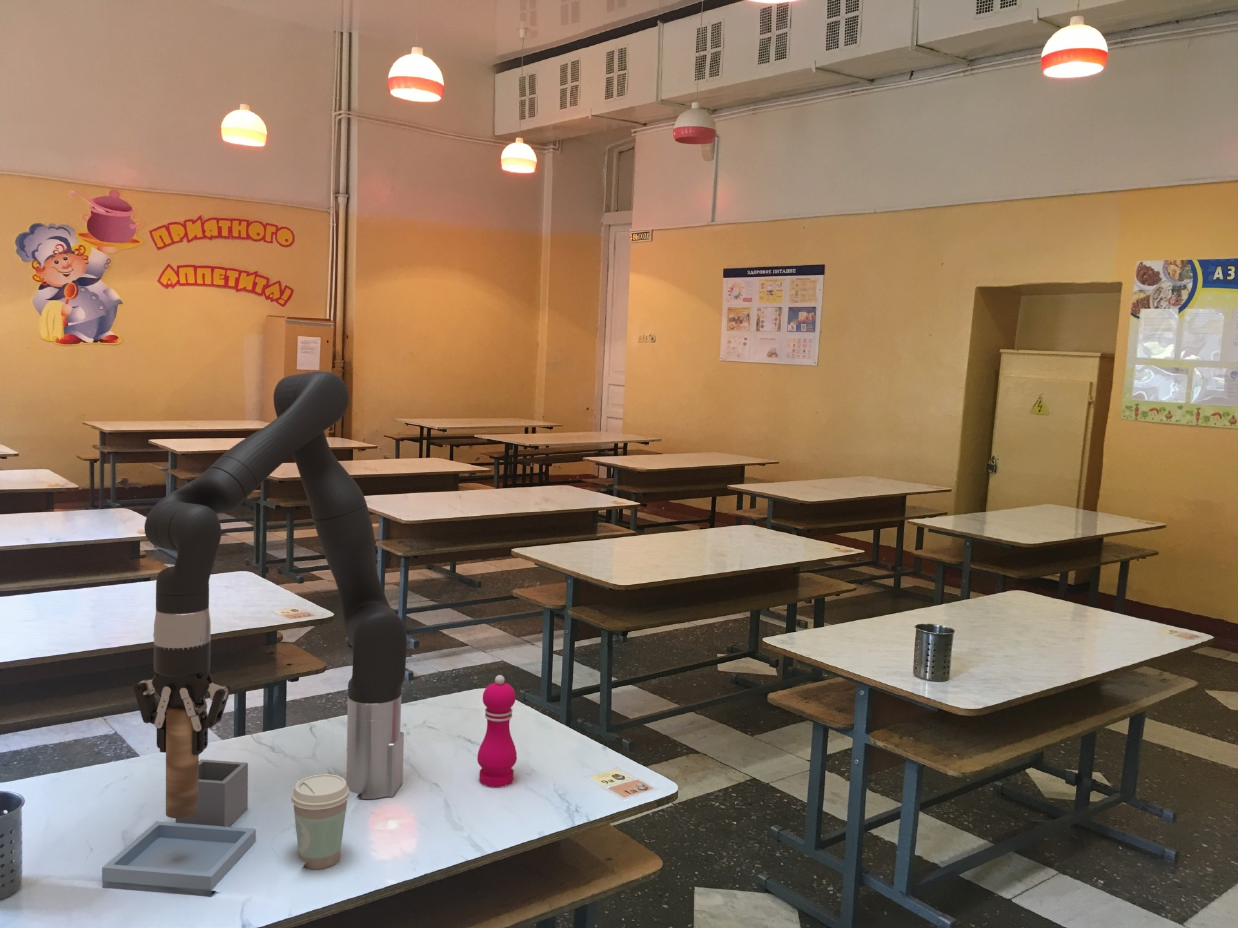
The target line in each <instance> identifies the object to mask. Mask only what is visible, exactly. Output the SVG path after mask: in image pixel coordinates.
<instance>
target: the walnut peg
mask: <svg viewBox="0 0 1238 928" xmlns="http://www.w3.org/2000/svg"><path fill="white" fill-rule="evenodd" d="M195 707H196V708H198V707H199V706H197V705H195ZM193 731H194V728H193V725H192V721H191V718H190V717H188V715H187V712H186V709H184V708H181V707H174V708H171V707H168V709H167V710H166V753H165V815H166V817H167V818H170V819H175V820H176V819H177V818H186V817H189V816H192V815H194V814H195V813H197V812H198V789H199V761H200V757H199V755H200V754H199V755H193V754H192V737H193Z"/></svg>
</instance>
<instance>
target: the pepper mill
mask: <svg viewBox="0 0 1238 928" xmlns="http://www.w3.org/2000/svg"><path fill="white" fill-rule="evenodd" d="M516 697H517V696H516V691H515V689H514V687H512V686H511V685H510V684H509V683H507V682H505V676H503V675H502V674H498V675H496V676H495V678H494V682H492V683H491V684H489V685H487V686H486V687H485V689H484V691H483V693H482V702H483V705H484V706H485V709H484V713H485V714H484V718H485V719H486V731H485V735H484V738H483V740H482V742H481V744H480V746H479V748H478V751H477V757H476V758H477V761H476V762H477V764H478V765H479V767H480V768H481V769H480V770H479V782H480V784H482V785H483V786H485V785H486V786H485V787H490V788H502V787H501V786H504V787H506V786H505V785H507V786H509V785H511V784H512V783H513V782H512V781H514V776H515V775H514V774H515V773H514V769H513V767H514V766H515V765H516V762H517V759H518V757H517V749H516V745H515V743H514V740H513V738H512V735H511V734H512V733H511V730H510V722H511V721H510V720H511V719H512V718H513V714H512V713H513V708H512V707H513V706H514V704H515V703H516V700H517V699H516ZM511 782H512V783H511ZM510 783H511V784H510ZM508 784H509V785H508Z"/></svg>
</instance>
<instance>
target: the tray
mask: <svg viewBox="0 0 1238 928" xmlns="http://www.w3.org/2000/svg"><path fill="white" fill-rule="evenodd" d="M256 834H257V829H256V828H247V827H235V826H230V827H223V826H211V825H198V824H185V823H176V822H172V821H171V822H170V821H158V820H157V821H154V823H153V824H152V825H150V826H149V827H148V828H147V829H145V830H144V831H143V832H142V833H140V835H138V837H136V838H135V839H134V840H133V841H132V842H130V843H129V844H128V845H127V846H125V848H123V849H122V850H121V851H119V853H117V854H116V855H115V856H113V858H112V859H110V860H109V861H108V862H107V863H106V864H104V865H103V866H102V867H101V885H102V887H101V888H103V889H113V890H114V889H115V890H124V891H137V892H138V891H139V892H148V893H160V894H162V893H163V894H171V895H172V894H175V895H187V896H199V897H208V898H212V897H213V896H214V894H215V893H216V892H217V890H213V889H214V888H215V887H216V886H217V885H218V884H219V883H220V881H221V880H222V879H223V878H224V877H225V876H226V875H227V874H228V873H229V872H230V871H231V870H232V868H233V867H234V866H235V865H236V864H237V863H238V862H240V859H241V858H243V856H244V855H245V854H246V853H247V852H248V851H249V850H250V849H251V847H252V846H254V844H255V843H256V842H257V839H256V838H257V836H256Z"/></svg>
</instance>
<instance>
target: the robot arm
mask: <svg viewBox="0 0 1238 928" xmlns="http://www.w3.org/2000/svg"><path fill="white" fill-rule="evenodd" d="M274 387H275V388H274V390H273V406H274V407H273V408H274V413H275V415H276V417H277V418H275V419H274V420H272V421H271V422H270V423H269V424H267V425H266V426H264V427H262V428H260V429H259V430H257V431H255V432H254V433H252V434H250V435H249V436H247V437H246V438H244V439H242V440H241V441H239V442H238V443H236V444H235V445H233V446H232V447H231V448H229V449H228V450H226V452H224V453H223V454H222V455H221V456H220V457H219V458H218V459H216V460H215V462H214V463H212V464H211V465H210V466H209V467H208V468H207V469H206V470H205V471H204V472H203V473H202V474H201V475H200V476H198V477H197V478H195V479H193V480H191V481H189V482H187V483H186V484H184V485H182V486H180V487H178V488H177V489H175V490H174V491H172V492H170V493H169V494H167V495H166V496H164V497H163V498H161V499H160V500H158V501H157V503H156V504H154V506H152V508H151V509H150V510H149V512H148V514H147V516H146V518H145V521H144V527H143V528H144V534H145V537H146V539H147V540H148V541H149V543H151V544H152V545H153V546H155V547H157V548H160V549H164V550H168V551H175V552H177V556H176V559H175V563H174V565H172V566H168V567H165V568H163V569H162V570H161V571H159V572H158V574H157V576H156V581H155V615H154V616H155V617H154V622H153V634H152V636H153V671H154V672H155V673H154V676H153V677H152V679H148V678H146V679H143V680H141V681H140V682H138V683H136V684H134V685H133V692H134V694H135V697H136V702H137V706H138V708H139V711H140V712H139V713H140V717H141V719H142V721H143V723H144V724H149V723H150V724H152V725H154V727H155V728H156V746H157V749H159V752H160V753H165V754H166V710H167V709H168V707H171V708H174V707H181V708H184V709H186V712H187V715H188V717H190V718H191V721H192V725H193V728H194V731H193V737H192V754H193V755H200V754H201V753H203V752H204V751H205V750H206V749H207V748H208V746H209V743H208V742H209V741H208V740H209V729H211V728H213V727H214V726H215V725H217V724H218V723H219V722H221V721H222V718H223V715H224V712H225V709H226V705H227V702H228V699H229V695H230V693H231V690H232V689H231V687H230V685H228V684H225V685H220V684H216V683H213V682H214V681H213V679H212V677H211V675H210V670H211V669H210V668H211V646H212V645H211V643H212V642H211V639H212V638H211V632H212V631H211V630H212V629H211V627H212V624H211V623H212V622H211V616H210V578H211V575H212V571H213V568H214V566H215V565H214V564H215V562H216V558H217V554H218V550H219V547H220V545H221V544H220V543H221V540H222V527H221V522H220V519H219V516H218V514H224V513H230V512H233V511H234V510H235V509H237V508H238V507H239V506H241V504H243V502H244V501H246V500H247V499H248V498H249V497H250V495H251V494H252V493H253V492H254V491H255V490H256V489H258V487H259V486H260V485H262V483H263V482H264V481H266V479H268V478H269V476H270V475H272V474H273V472H275V471H276V470H277V469H278V468H279V467H281V465H282V464H284V463H285V462H286V461H288V459H290V458H291V457H292V458H293V459H294V462H295V465H296V468H297V470H298V471H297V472H298V473H299V477H300V480H301V484H302V487H303V488H304V492H305V495H306V498H307V502H308V504H309V505H308V506H309V509H310V514H311V518H312V520H313V524H314V527H315V530H316V531H315V532H316V534H317V537H318V539H319V543H320V545H321V548H322V551H323V554H324V557H325V559H326V561H327V565H328V567H329V569H330V572H331V574H332V577H333V578H334V580H335V581H334V582H335V585H336V587H337V591H338V592H337V593H338V597H339V601H340V606H341V611H342V617H343V624H344V630H345V635H346V636H345V637H346V638H347V640H348V642H349V644H350V646H352V672H351V673H352V674H351V678H350V679H349V680H348V684H347V714H346V716H347V718H346V719H347V720H346V721H347V723H346V724H347V726H346V732H347V733H346V771H345V773H346V776H345V780H346V783H347V786H348V788H349V792H352V793H355V794H357V796H356V798H358V799H363V800H364V799H365V800H369V799H370V800H374V799H381V798H385V797H389V798H390V797H391V798H392V797H394V796H395V794H396V793H397V792H398V790H399V789H400V787H401V786H402V784H403V783H404V779H403V778H404V751H405V750H404V746H405V745H404V743H405V738H404V737H405V733H404V732H403V731H401V727H402V726H401V724H402V723H401V722H402V720H401V719H402V690H403V689H402V688H403V683H404V681H405V677H406V667H407V666H406V665H407V663H406V662H407V646H408V645H407V644H408V643H407V642H408V641H407V640H408V638H407V637H408V636H407V629H406V625H405V623H404V621H403V619H402V618H401V617H400V616H399V615H398V614H397V613H396V612H395V611H394V610H393V609H392V608H391V605H390V604H389V601H388V600H387V599H388V598H387V597H386V594H385V592H384V590H383V586H382V584H381V581H380V578H379V573H378V569H377V564H376V563H377V559H376V541H375V540H376V538H375V530H374V526H373V522H372V518H371V515H370V511H369V507H368V504H367V501H366V498H365V496H364V495H365V494H364V493H363V492H362V489H361V488H360V486H359V484H357V482H356V481H355V479H354V478H353V477H352V476H351V474H350V473H349V472H348V471H347V470H346V469H345V467H344V466H343V465H342V464H341V463H340V462H339V460H338V459H337V457H336V456H335V455H334V452H333V451H332V449H331V447H330V444H329V443H328V442H329V441H328V440H327V436H326V432H325V431H326V430H328V429H329V428H330V427H332V426H334V425H335V424H336V423H337V422H339V421H341V420H342V418H343V417H344V416H345V414H346V412H347V410H348V408H349V403H350V394H349V391H348V387H347V384H346V383H345V382H344V380H343V379H342V378H341V377H340V376H339V375H337V374H335V373H333V372H329V371H324V370H323V371H322V370H321V371H319V370H317V371H311V372H310V371H309V372H304V373H298V374H297V373H296V374H291V375H287V376H285V377H283V378H281V379H280V380H278V382H277V384H276V386H274ZM155 691H156V693H157V694H158V696H159V697H160V699H159V703H157V699H156V696H155ZM208 693H209V695H210V697H209V698H210V701H211V704H210V707H209V711H207V710H208V704H207V701H206V697H205V696H206V695H207V694H208ZM195 705H197V706H199V707H198V708H196V707H195Z"/></svg>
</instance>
